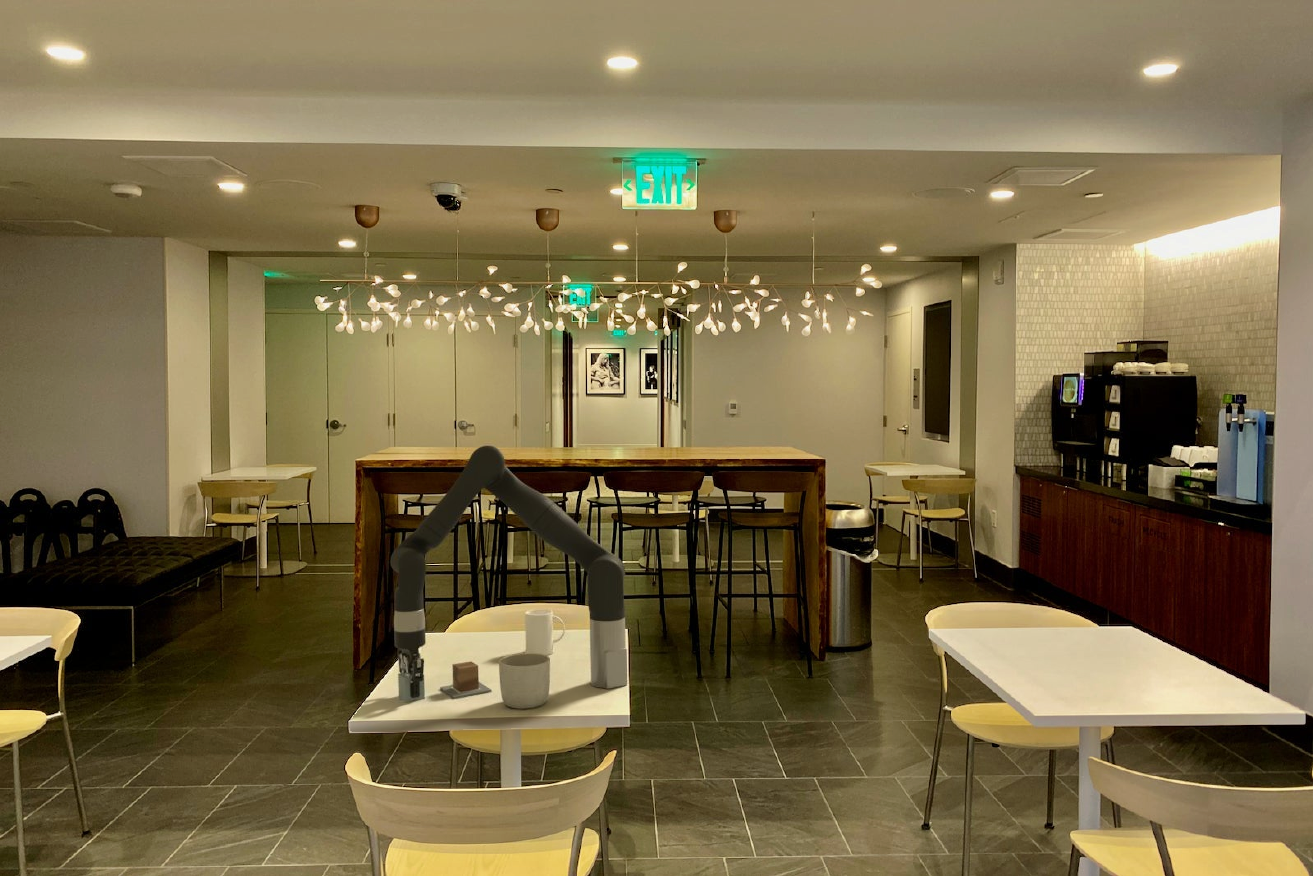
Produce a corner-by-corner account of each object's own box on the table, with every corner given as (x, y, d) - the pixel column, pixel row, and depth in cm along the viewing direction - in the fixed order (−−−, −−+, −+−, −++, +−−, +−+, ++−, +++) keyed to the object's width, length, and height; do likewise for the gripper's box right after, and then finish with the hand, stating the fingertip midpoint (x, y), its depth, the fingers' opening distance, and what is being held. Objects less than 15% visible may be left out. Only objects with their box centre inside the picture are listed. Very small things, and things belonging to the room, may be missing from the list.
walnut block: (478, 688, 242) (478, 665, 242) (460, 692, 240) (459, 668, 240) (471, 684, 247) (470, 661, 246) (453, 687, 244) (452, 664, 244)
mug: (567, 648, 283) (566, 608, 283) (562, 656, 275) (562, 615, 274) (528, 648, 284) (527, 609, 284) (522, 656, 276) (521, 615, 275)
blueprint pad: (491, 691, 242) (491, 689, 242) (454, 698, 236) (453, 696, 236) (476, 682, 250) (476, 680, 250) (440, 689, 245) (440, 686, 245)
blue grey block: (424, 698, 237) (424, 675, 237) (405, 702, 234) (404, 678, 234) (418, 693, 241) (417, 670, 241) (398, 697, 238) (398, 673, 238)
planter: (489, 704, 232) (488, 660, 231) (530, 693, 240) (529, 650, 240) (519, 715, 223) (518, 669, 222) (561, 703, 231) (560, 659, 231)
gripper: (433, 630, 233) (435, 699, 234) (415, 619, 245) (417, 685, 246) (403, 635, 229) (405, 704, 230) (386, 623, 241) (388, 690, 242)
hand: (411, 694), depth 238 cm, fingers closed on blue grey block, 5 cm apart
